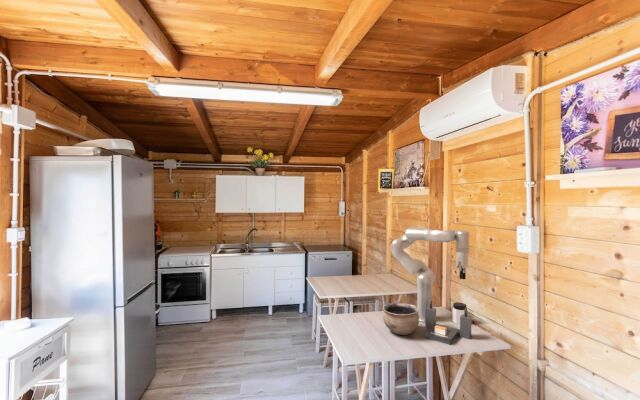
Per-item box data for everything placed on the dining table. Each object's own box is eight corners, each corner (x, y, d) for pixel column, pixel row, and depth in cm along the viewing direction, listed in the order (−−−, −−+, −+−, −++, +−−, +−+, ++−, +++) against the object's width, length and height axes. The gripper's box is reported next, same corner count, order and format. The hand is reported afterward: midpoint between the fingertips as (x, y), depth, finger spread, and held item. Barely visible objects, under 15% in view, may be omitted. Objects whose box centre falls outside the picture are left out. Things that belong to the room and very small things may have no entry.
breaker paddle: (434, 332, 187) (434, 326, 187) (436, 331, 189) (436, 325, 189) (445, 335, 183) (445, 329, 183) (446, 334, 185) (446, 327, 185)
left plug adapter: (425, 327, 202) (425, 300, 202) (428, 325, 206) (428, 298, 206) (433, 329, 199) (433, 302, 199) (436, 327, 203) (436, 300, 203)
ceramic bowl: (421, 341, 182) (421, 315, 182) (382, 338, 186) (382, 312, 186) (417, 326, 204) (417, 303, 204) (382, 323, 208) (382, 300, 208)
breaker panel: (425, 337, 187) (425, 332, 187) (436, 328, 201) (436, 323, 201) (450, 344, 178) (450, 339, 178) (460, 334, 192) (460, 329, 192)
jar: (452, 323, 209) (452, 305, 209) (452, 319, 216) (452, 301, 216) (467, 325, 205) (467, 307, 205) (466, 321, 213) (466, 303, 213)
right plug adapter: (459, 336, 188) (460, 307, 188) (462, 334, 192) (462, 305, 192) (468, 339, 185) (469, 309, 185) (471, 336, 189) (471, 307, 189)
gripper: (460, 248, 210) (460, 275, 210) (452, 250, 199) (452, 280, 199) (472, 249, 205) (472, 277, 205) (465, 252, 194) (465, 282, 194)
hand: (462, 278), depth 202 cm, fingers closed
